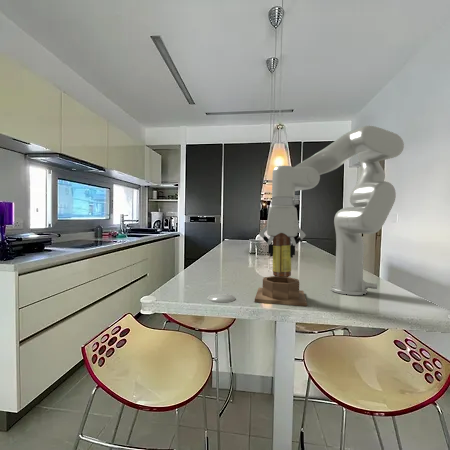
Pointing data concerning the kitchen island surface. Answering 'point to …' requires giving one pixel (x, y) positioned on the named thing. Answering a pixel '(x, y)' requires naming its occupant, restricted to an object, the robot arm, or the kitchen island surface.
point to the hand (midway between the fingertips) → (281, 256)
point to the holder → (281, 291)
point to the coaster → (221, 298)
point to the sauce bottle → (281, 255)
